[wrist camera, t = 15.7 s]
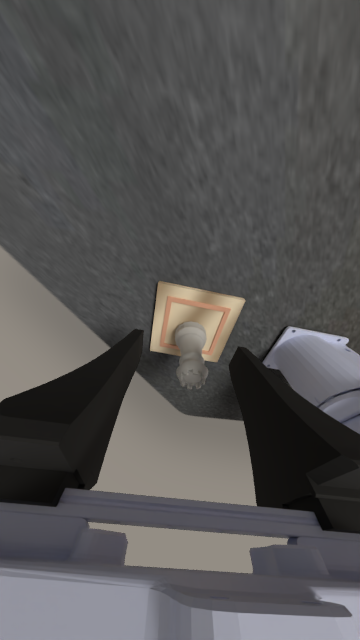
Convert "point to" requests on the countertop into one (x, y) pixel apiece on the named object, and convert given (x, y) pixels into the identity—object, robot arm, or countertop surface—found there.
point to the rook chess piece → (191, 354)
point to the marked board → (193, 317)
